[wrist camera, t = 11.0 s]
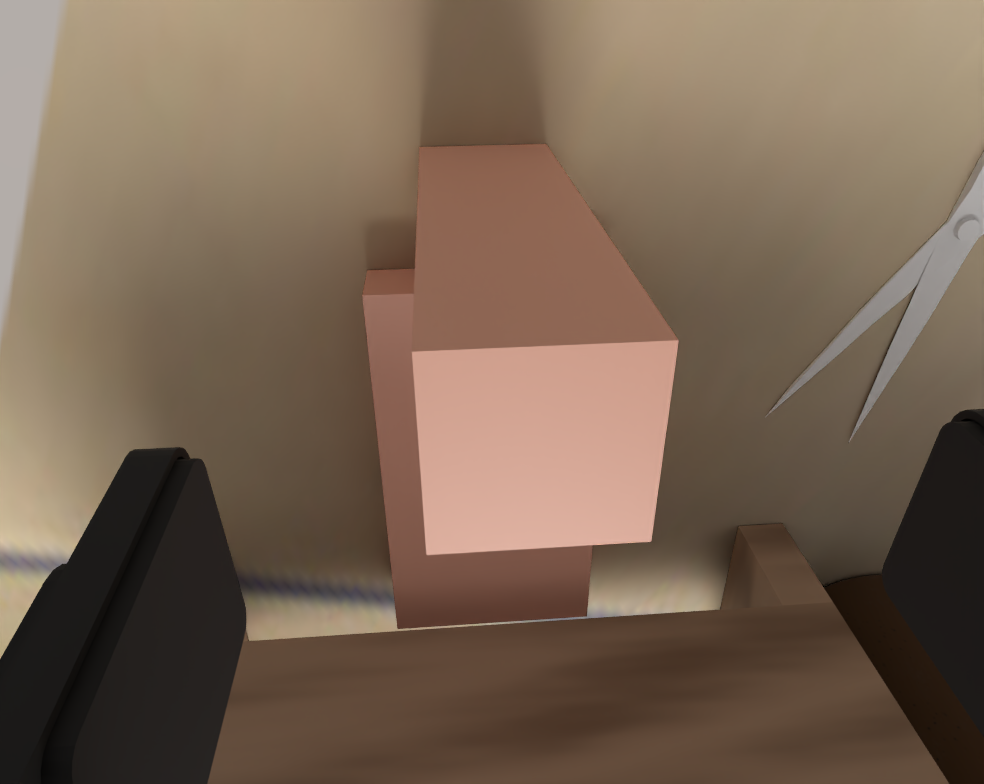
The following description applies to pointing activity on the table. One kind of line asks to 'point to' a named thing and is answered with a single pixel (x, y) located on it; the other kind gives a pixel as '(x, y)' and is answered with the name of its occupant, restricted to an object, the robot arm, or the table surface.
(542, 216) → the block
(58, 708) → the robot arm
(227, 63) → the table surface
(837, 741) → the cabinet
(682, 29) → the table surface
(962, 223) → the scissors
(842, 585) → the olive oil
